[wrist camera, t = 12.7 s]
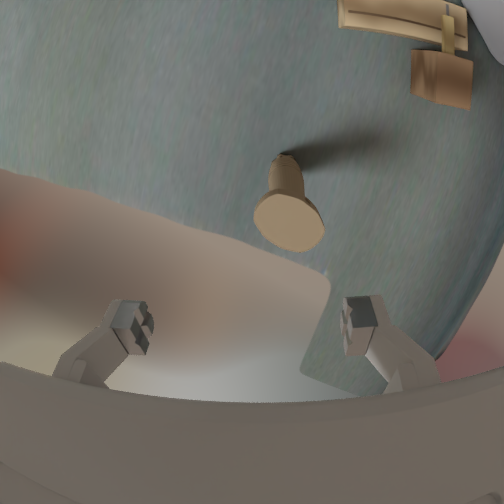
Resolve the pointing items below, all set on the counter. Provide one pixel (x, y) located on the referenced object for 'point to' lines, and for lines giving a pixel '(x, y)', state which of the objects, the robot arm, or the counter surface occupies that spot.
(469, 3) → the plastic bottle
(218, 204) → the counter surface
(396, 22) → the board
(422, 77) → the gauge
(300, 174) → the handle
